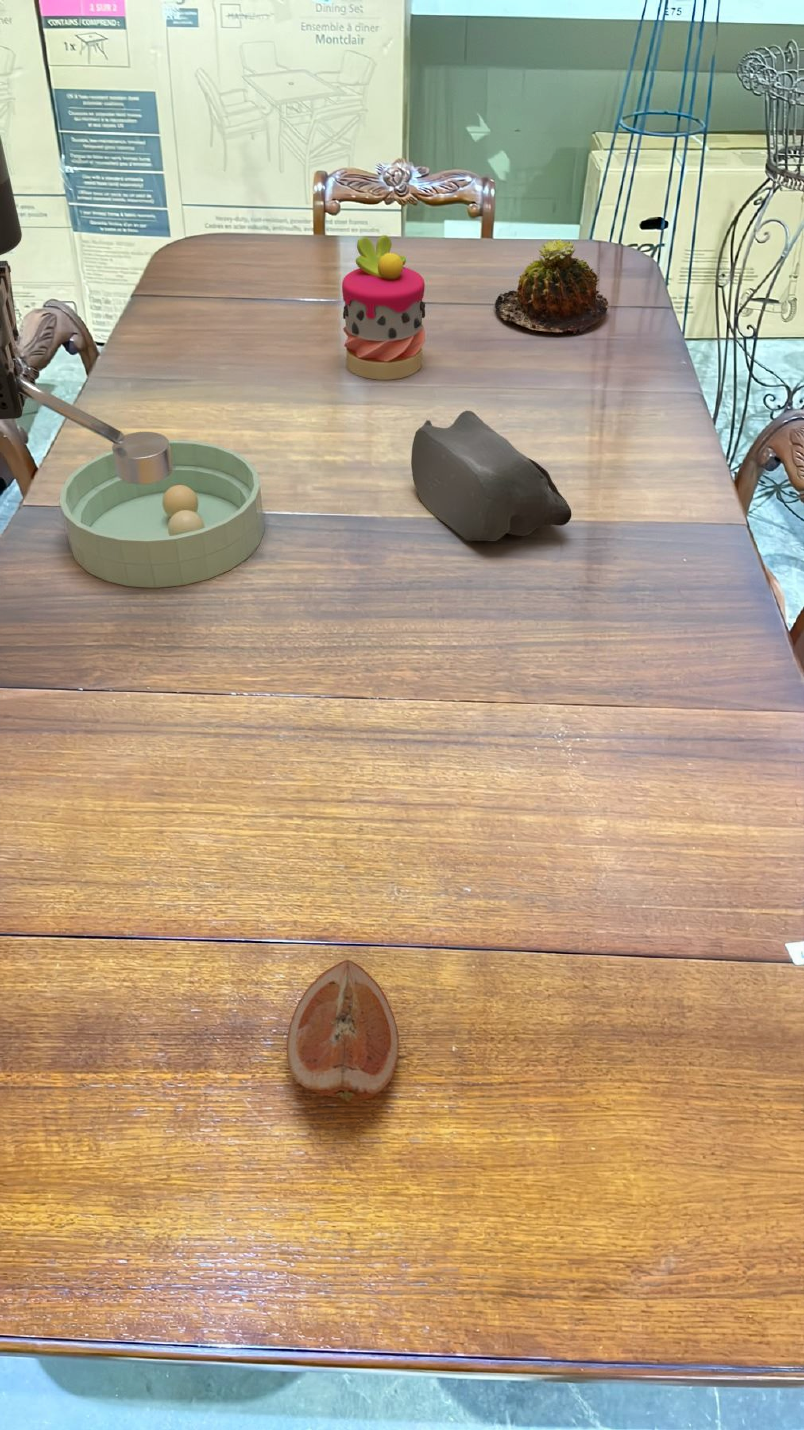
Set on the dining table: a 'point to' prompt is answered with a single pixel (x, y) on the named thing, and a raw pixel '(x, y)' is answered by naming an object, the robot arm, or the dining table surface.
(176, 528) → the dumpling
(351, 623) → the dining table surface
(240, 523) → the bowl
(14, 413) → the robot arm
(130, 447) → the ladle
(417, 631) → the dining table surface
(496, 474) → the rock
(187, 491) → the dumpling
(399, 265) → the cake
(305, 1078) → the fruit slice
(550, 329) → the cactus
